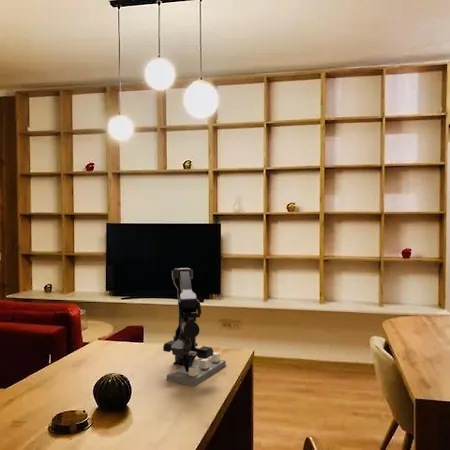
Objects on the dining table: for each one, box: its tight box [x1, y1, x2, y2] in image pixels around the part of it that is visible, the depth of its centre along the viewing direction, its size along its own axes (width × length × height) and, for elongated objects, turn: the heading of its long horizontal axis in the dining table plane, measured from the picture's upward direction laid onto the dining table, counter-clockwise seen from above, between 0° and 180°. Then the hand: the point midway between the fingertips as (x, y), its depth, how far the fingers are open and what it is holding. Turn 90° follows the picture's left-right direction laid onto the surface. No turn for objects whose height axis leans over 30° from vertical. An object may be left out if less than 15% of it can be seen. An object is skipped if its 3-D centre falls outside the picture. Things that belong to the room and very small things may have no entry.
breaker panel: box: [166, 357, 227, 387], centre depth 191 cm, size 12×25×2 cm, turn 153°
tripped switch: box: [189, 365, 199, 377], centre depth 182 cm, size 2×3×3 cm
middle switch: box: [200, 359, 209, 369], centre depth 190 cm, size 2×3×3 cm
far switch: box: [210, 351, 221, 362], centre depth 198 cm, size 2×3×3 cm
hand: (187, 371), depth 183 cm, fingers closed
